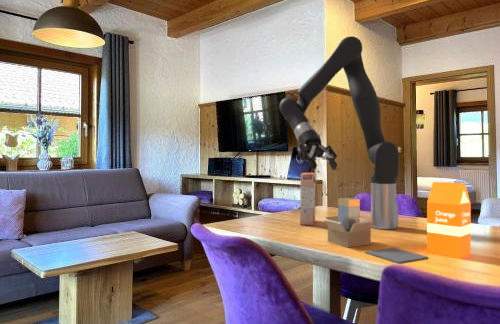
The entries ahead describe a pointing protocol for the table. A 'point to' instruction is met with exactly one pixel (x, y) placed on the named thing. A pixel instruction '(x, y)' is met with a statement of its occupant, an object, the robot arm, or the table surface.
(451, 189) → the orange juice
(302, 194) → the cracker box
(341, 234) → the carton
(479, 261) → the table surface
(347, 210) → the tall two-tone pillar
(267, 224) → the table surface
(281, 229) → the table surface
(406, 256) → the felt mat
